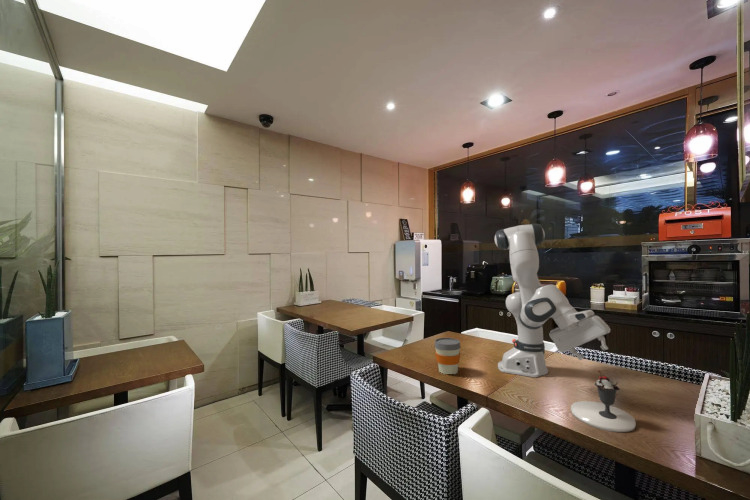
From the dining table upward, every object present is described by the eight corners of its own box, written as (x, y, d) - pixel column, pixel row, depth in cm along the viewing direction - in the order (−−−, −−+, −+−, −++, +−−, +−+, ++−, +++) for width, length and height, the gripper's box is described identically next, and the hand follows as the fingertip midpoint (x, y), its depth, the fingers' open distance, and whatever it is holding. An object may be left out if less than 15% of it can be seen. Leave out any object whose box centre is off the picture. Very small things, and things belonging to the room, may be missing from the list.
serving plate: (579, 427, 99) (579, 423, 99) (565, 401, 116) (564, 398, 116) (647, 436, 94) (647, 432, 94) (621, 408, 111) (621, 404, 111)
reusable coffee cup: (451, 378, 140) (450, 346, 141) (430, 371, 150) (429, 341, 150) (466, 371, 149) (465, 340, 149) (445, 364, 158) (444, 336, 158)
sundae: (590, 410, 107) (589, 368, 107) (608, 409, 107) (607, 367, 108) (606, 421, 100) (604, 375, 101) (625, 419, 101) (623, 374, 101)
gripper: (543, 333, 124) (565, 366, 118) (589, 310, 111) (617, 345, 104) (550, 330, 128) (572, 362, 121) (596, 308, 115) (623, 342, 108)
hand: (593, 354), depth 113 cm, fingers open, 8 cm apart
